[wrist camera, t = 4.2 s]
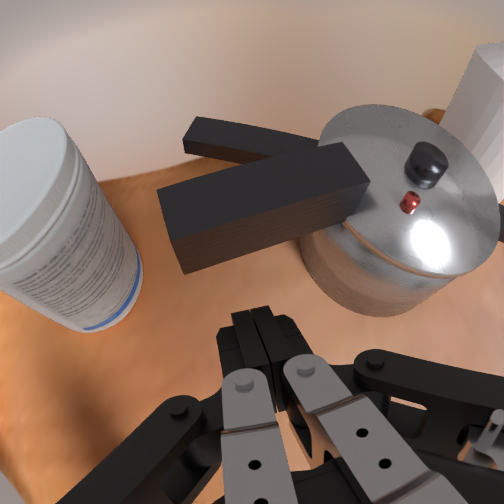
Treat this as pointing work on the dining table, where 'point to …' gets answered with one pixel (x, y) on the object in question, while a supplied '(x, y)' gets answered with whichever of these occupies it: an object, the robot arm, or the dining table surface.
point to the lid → (347, 197)
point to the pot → (326, 240)
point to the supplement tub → (61, 232)
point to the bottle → (481, 112)
